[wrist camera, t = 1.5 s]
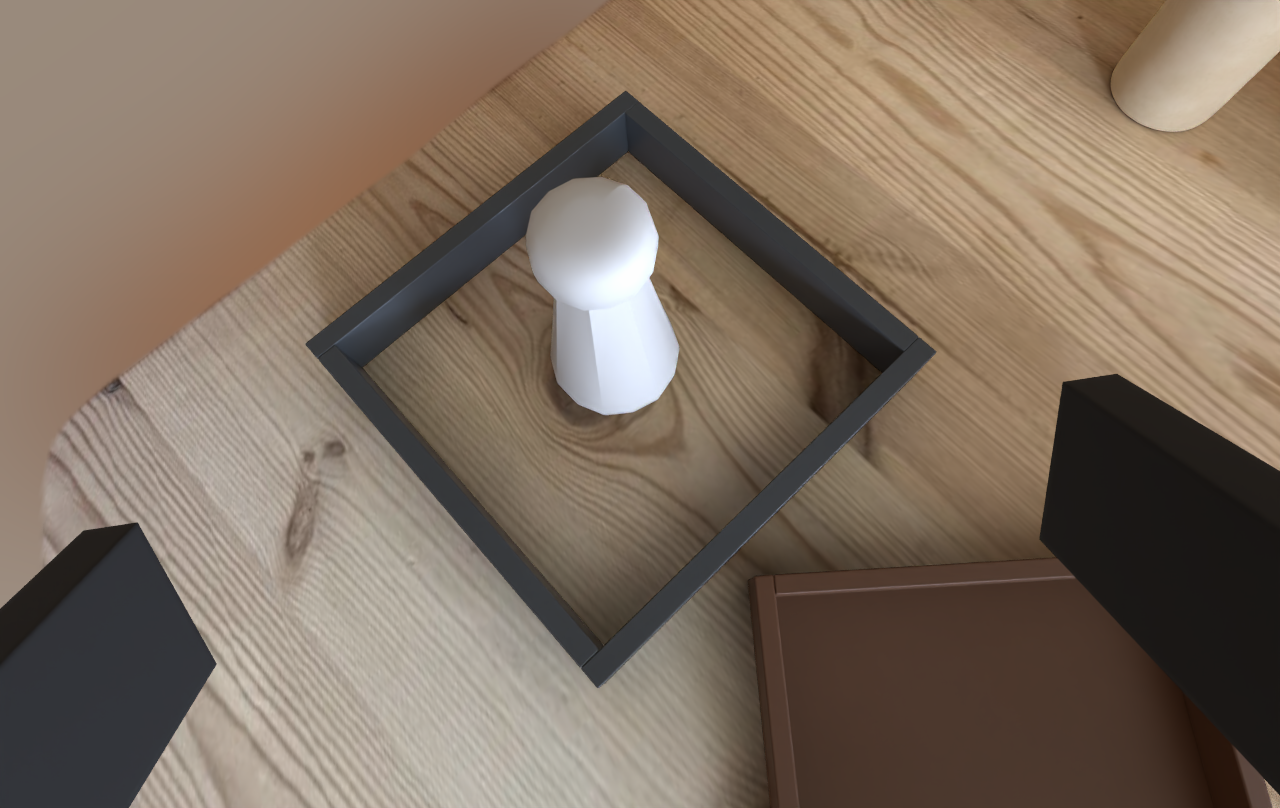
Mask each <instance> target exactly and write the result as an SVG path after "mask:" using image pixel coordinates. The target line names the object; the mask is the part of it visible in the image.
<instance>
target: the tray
mask: <svg viewBox="0 0 1280 808" xmlns="http://www.w3.org/2000/svg"><path fill="white" fill-rule="evenodd" d="M748 591H749V601H750V611H751V621H752V631H753V640H754V650H755V660H756V670H757V680H758V690H759V700H760V710H761V720H762V730H763V740H764V750H765V760H766V769H767V779H768V789H769V799H770V808H1273V807H1272V804H1271V801H1270V797H1269V794H1268V791H1267V787H1266V784H1265V781H1264V778H1263V777H1262V776H1261V775H1260V774H1259V773H1258V771H1257V770H1256V769H1255V768H1254V767H1253V766H1252V765H1251V764H1250V763H1249V762H1248V761H1247V760H1246V759H1245V758H1244V757H1243V755H1242V754H1241V753H1240V752H1239V751H1238V750H1237V749H1236V748H1235V747H1234V746H1233V745H1232V744H1231V743H1230V742H1229V741H1228V740H1227V738H1226V737H1225V736H1224V735H1223V734H1222V733H1221V732H1220V731H1219V730H1218V729H1217V728H1216V727H1215V726H1214V725H1213V724H1212V722H1211V721H1210V720H1209V719H1208V718H1207V717H1206V716H1205V715H1204V714H1203V713H1202V712H1201V711H1200V710H1199V709H1198V708H1197V706H1196V705H1195V704H1194V703H1193V702H1192V701H1191V700H1190V699H1189V698H1188V697H1187V696H1186V695H1185V694H1184V693H1183V692H1182V690H1181V689H1180V688H1179V687H1178V686H1177V685H1176V684H1175V683H1174V682H1173V681H1172V680H1171V679H1170V678H1169V677H1168V676H1167V675H1166V673H1165V672H1164V671H1163V670H1162V669H1161V668H1160V667H1159V666H1158V665H1157V664H1156V663H1155V662H1154V661H1153V660H1152V659H1151V657H1150V656H1149V655H1148V654H1147V653H1146V652H1145V651H1144V650H1143V649H1142V648H1141V647H1140V646H1139V645H1138V644H1137V643H1136V641H1135V640H1134V639H1133V638H1132V637H1131V636H1130V635H1129V634H1128V633H1127V632H1126V631H1125V630H1124V629H1123V628H1122V627H1121V626H1120V624H1119V623H1118V622H1117V621H1116V620H1115V619H1114V618H1113V617H1112V616H1111V615H1110V614H1109V613H1108V612H1107V611H1106V610H1105V608H1104V607H1103V606H1102V605H1101V604H1100V603H1099V602H1098V601H1097V600H1096V599H1095V598H1094V597H1093V596H1092V595H1091V594H1090V592H1089V591H1088V590H1087V589H1086V588H1085V587H1084V586H1083V585H1082V584H1081V583H1080V582H1079V581H1078V580H1077V579H1076V578H1075V576H1074V575H1073V574H1072V573H1071V572H1070V571H1069V570H1068V569H1067V568H1066V567H1065V566H1064V565H1063V564H1062V563H1061V562H1060V561H1059V559H1058V558H1057V557H1056V558H1040V559H1023V560H1007V561H990V562H974V563H957V564H941V565H924V566H908V567H891V568H874V569H858V570H841V571H825V572H808V573H792V574H775V575H759V576H754V577H753V578H752V579H750V580H748Z"/></svg>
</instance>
